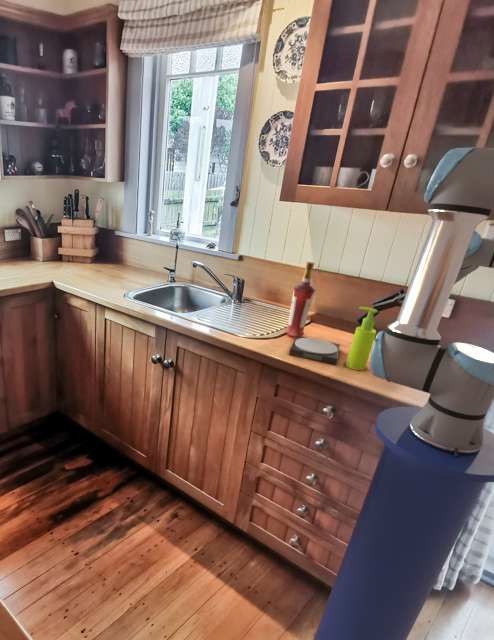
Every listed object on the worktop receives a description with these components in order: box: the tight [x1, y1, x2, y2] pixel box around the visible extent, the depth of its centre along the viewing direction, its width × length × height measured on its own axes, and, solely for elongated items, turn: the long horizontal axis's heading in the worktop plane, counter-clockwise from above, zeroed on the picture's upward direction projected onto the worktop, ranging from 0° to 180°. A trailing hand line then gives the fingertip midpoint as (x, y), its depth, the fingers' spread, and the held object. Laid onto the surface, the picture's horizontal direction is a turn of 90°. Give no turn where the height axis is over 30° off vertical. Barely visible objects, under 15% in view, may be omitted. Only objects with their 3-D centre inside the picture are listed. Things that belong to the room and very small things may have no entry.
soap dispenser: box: [345, 306, 378, 371], centre depth 150 cm, size 6×7×20 cm
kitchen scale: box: [288, 335, 341, 365], centre depth 163 cm, size 15×15×3 cm
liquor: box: [284, 261, 316, 339], centre depth 172 cm, size 7×7×28 cm
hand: (369, 330), depth 149 cm, fingers open, 13 cm apart
